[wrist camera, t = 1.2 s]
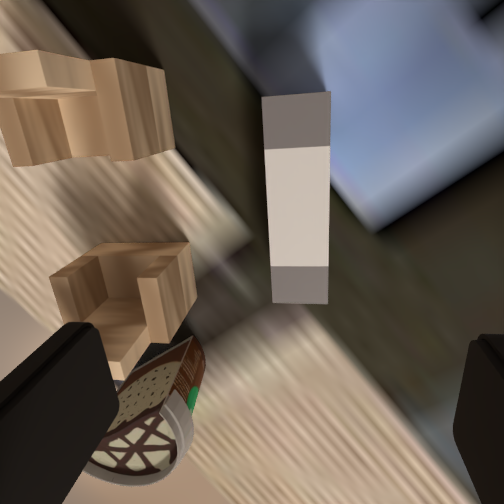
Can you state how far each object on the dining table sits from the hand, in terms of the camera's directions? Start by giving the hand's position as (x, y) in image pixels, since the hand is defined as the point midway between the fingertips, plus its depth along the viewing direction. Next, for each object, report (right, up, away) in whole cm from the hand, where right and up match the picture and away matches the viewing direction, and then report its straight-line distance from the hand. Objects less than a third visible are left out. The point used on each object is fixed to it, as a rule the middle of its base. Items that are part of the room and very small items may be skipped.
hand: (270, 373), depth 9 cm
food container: (-8, -10, +28) cm, 31 cm away
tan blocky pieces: (-10, +8, +21) cm, 24 cm away
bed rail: (+3, +8, +18) cm, 20 cm away
